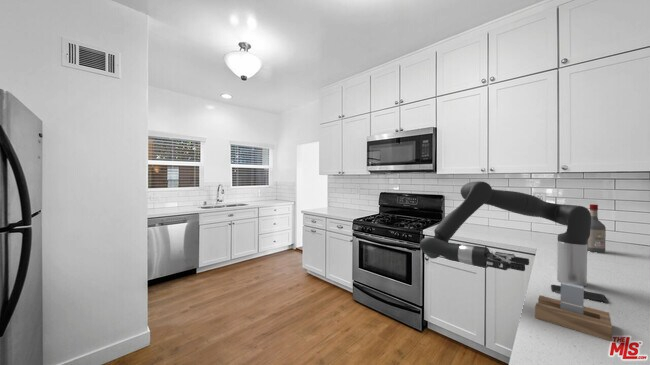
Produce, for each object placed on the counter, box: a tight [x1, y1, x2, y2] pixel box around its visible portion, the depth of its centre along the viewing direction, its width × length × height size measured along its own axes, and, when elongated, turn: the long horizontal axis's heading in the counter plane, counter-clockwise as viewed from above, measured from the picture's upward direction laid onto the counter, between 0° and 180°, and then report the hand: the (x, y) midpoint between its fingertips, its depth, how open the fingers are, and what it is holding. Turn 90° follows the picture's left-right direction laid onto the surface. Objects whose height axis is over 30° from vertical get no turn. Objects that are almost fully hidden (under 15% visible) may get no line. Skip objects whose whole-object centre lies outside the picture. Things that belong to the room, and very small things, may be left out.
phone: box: [550, 284, 609, 304], centre depth 98 cm, size 8×1×15 cm
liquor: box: [587, 203, 607, 254], centre depth 164 cm, size 9×9×30 cm
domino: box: [560, 282, 585, 315], centre depth 78 cm, size 2×5×11 cm, turn 44°
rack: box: [534, 294, 613, 342], centre depth 78 cm, size 12×16×4 cm
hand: (527, 264), depth 86 cm, fingers open, 8 cm apart
